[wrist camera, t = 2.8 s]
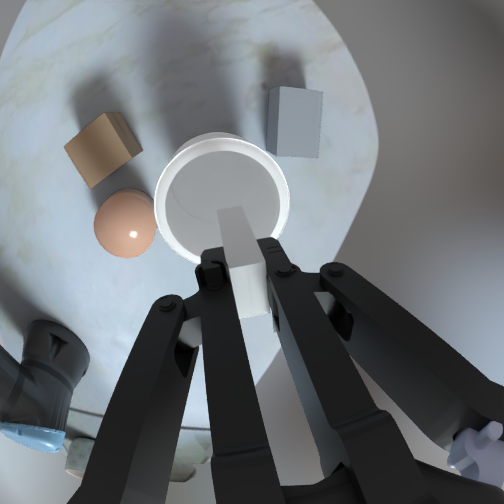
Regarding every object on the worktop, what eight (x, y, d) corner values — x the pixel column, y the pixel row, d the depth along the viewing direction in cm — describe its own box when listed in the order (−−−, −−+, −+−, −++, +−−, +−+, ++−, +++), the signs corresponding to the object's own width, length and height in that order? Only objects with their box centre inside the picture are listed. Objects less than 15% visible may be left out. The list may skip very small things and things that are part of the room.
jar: (157, 149, 30) (128, 177, 17) (235, 114, 30) (263, 116, 17) (193, 221, 36) (193, 288, 23) (265, 189, 35) (306, 240, 23)
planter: (64, 428, 59) (58, 465, 46) (109, 439, 64) (107, 478, 51) (75, 444, 66) (71, 476, 53) (115, 453, 71) (114, 487, 58)
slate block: (265, 150, 33) (276, 156, 29) (268, 89, 29) (280, 86, 25) (302, 151, 34) (318, 158, 30) (306, 93, 30) (323, 91, 26)
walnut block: (106, 176, 30) (90, 189, 25) (83, 140, 27) (63, 146, 22) (143, 150, 30) (132, 158, 25) (119, 112, 27) (104, 112, 22)
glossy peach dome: (113, 248, 35) (106, 263, 32) (96, 196, 31) (85, 206, 28) (165, 237, 36) (162, 251, 33) (151, 181, 32) (145, 190, 29)
